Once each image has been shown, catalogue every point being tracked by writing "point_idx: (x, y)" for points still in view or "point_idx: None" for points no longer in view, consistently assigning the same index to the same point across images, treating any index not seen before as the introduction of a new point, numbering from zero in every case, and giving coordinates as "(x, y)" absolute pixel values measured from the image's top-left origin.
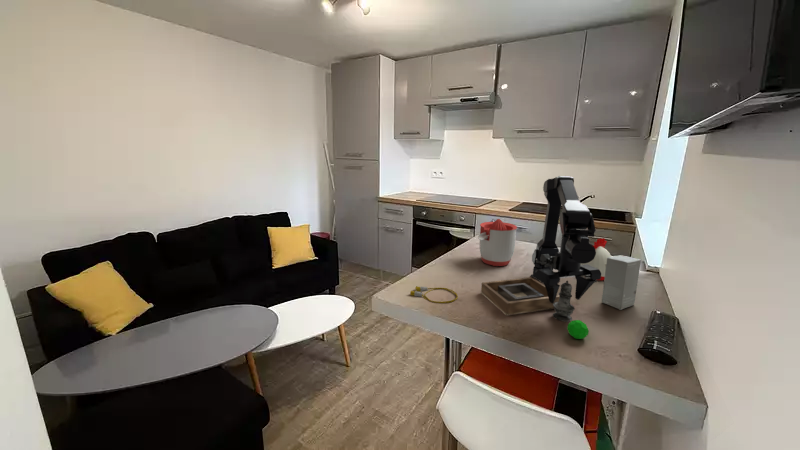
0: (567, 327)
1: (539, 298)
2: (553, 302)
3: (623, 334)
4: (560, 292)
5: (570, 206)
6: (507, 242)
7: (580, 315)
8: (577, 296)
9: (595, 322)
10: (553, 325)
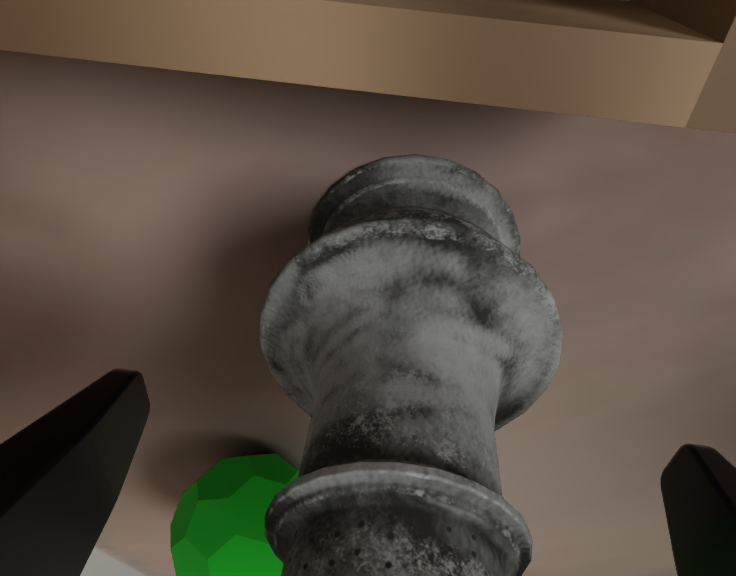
0: (195, 486)
1: (118, 21)
2: (142, 428)
3: (617, 546)
4: (291, 556)
5: None
6: None
7: (647, 302)
8: (687, 522)
9: (625, 421)
10: (196, 325)
